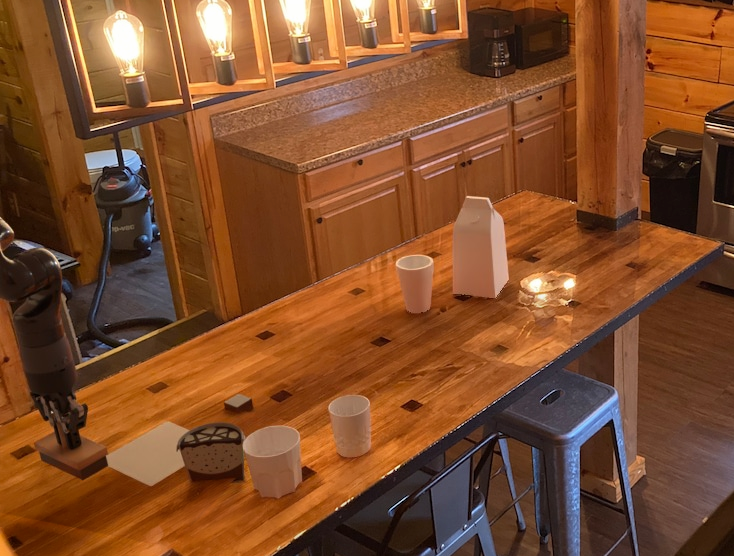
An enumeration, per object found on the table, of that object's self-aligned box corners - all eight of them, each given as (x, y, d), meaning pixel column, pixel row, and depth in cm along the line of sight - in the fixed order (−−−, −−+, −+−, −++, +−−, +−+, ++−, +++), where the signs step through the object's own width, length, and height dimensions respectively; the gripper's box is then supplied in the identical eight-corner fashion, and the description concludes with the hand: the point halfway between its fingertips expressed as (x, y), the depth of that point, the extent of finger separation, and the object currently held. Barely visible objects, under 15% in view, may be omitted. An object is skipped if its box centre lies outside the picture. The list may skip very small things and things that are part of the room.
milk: (509, 281, 261) (505, 192, 251) (495, 299, 251) (491, 207, 241) (467, 277, 264) (463, 188, 253) (452, 294, 254) (447, 203, 243)
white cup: (332, 440, 192) (327, 398, 188) (372, 434, 194) (367, 391, 190) (335, 463, 185) (329, 419, 181) (376, 455, 187) (371, 412, 183)
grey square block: (225, 412, 201) (223, 402, 200) (240, 403, 204) (238, 393, 203) (238, 417, 199) (236, 407, 198) (253, 408, 202) (251, 398, 201)
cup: (264, 467, 183) (257, 424, 179) (314, 470, 182) (308, 427, 178) (241, 500, 174) (233, 455, 170) (293, 503, 173) (286, 458, 169)
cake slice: (257, 461, 185) (250, 417, 181) (252, 480, 180) (244, 436, 176) (191, 467, 183) (182, 423, 179) (183, 487, 178) (174, 442, 174)
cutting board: (97, 465, 184) (96, 460, 183) (168, 424, 196) (167, 420, 196) (151, 491, 177) (150, 486, 176) (221, 447, 189) (220, 443, 189)
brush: (38, 461, 173) (27, 419, 170) (67, 445, 178) (56, 404, 174) (82, 481, 168) (71, 439, 164) (111, 465, 172) (100, 423, 168)
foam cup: (393, 307, 247) (388, 261, 241) (423, 296, 252) (420, 251, 247) (412, 319, 240) (408, 273, 235) (443, 308, 246) (440, 262, 241)
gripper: (2, 360, 164) (26, 444, 171) (52, 381, 158) (74, 467, 165) (44, 342, 170) (66, 423, 177) (93, 361, 164) (113, 445, 171)
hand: (70, 444), depth 171 cm, fingers closed on brush, 2 cm apart
